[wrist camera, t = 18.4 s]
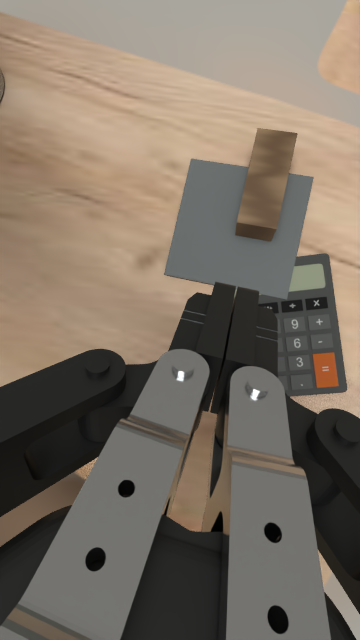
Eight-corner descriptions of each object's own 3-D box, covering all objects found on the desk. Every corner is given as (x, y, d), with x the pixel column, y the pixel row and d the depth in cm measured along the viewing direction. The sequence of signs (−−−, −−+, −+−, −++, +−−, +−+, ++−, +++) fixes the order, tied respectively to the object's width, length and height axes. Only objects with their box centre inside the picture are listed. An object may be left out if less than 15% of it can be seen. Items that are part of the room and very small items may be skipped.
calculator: (235, 400, 35) (221, 266, 36) (235, 399, 36) (221, 267, 37) (348, 392, 34) (329, 252, 35) (344, 391, 35) (326, 254, 36)
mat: (164, 274, 38) (164, 274, 37) (191, 160, 38) (191, 158, 38) (286, 299, 36) (286, 299, 35) (312, 178, 36) (313, 177, 36)
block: (236, 222, 33) (257, 128, 33) (235, 235, 37) (253, 151, 37) (276, 229, 32) (297, 133, 32) (270, 241, 36) (289, 156, 36)
